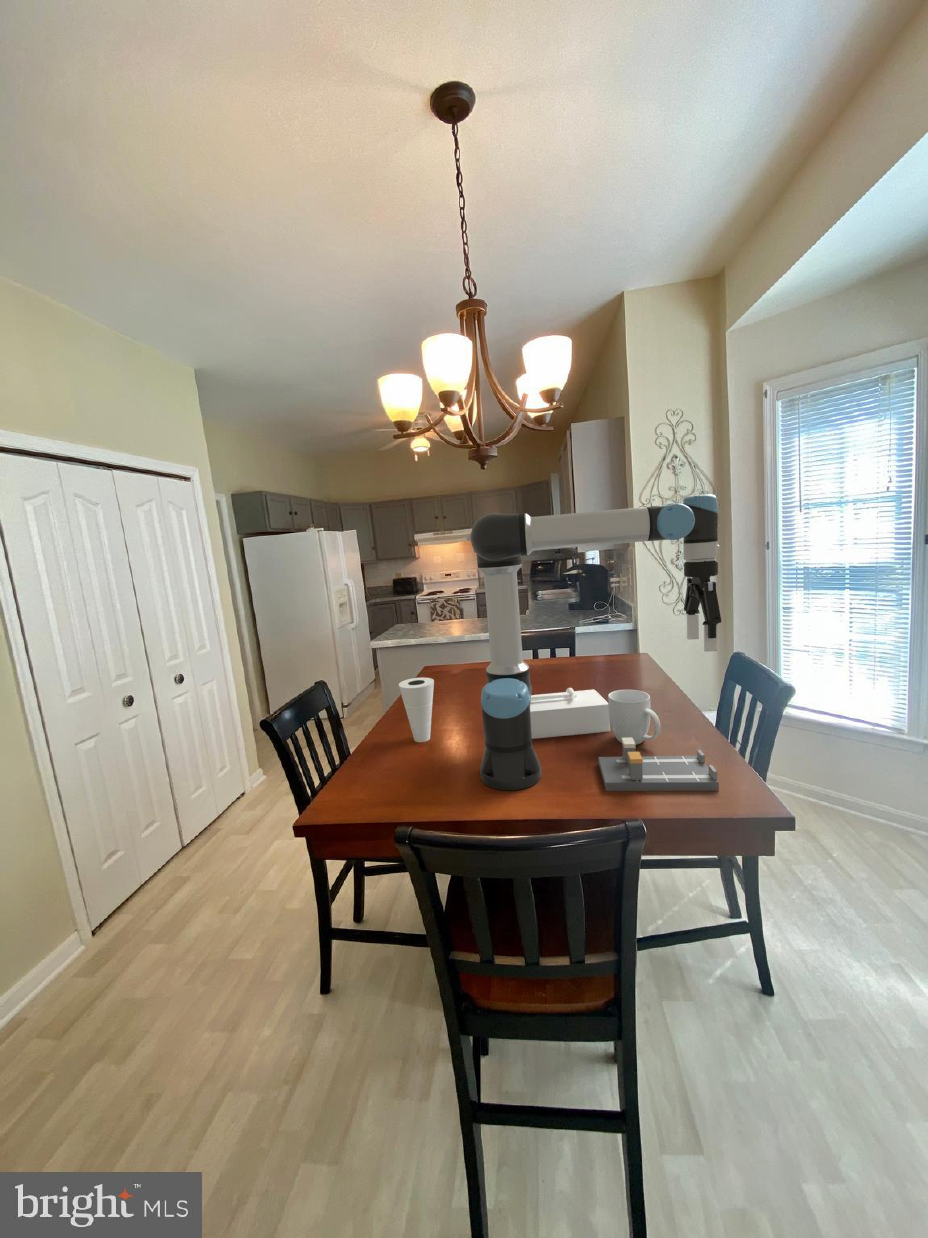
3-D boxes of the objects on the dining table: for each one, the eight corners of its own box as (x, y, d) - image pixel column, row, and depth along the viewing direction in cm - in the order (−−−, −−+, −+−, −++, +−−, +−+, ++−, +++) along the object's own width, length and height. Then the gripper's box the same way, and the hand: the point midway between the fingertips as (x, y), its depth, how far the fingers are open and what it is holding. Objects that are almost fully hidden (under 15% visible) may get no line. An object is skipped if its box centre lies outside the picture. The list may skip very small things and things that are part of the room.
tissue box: (610, 732, 141) (609, 696, 140) (526, 740, 141) (523, 704, 139) (595, 715, 156) (594, 682, 154) (519, 722, 155) (516, 689, 153)
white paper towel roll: (399, 745, 144) (392, 688, 141) (413, 731, 154) (407, 677, 151) (432, 747, 141) (426, 688, 138) (444, 732, 151) (438, 677, 148)
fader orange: (631, 780, 108) (630, 759, 108) (628, 772, 112) (627, 751, 111) (643, 780, 108) (642, 759, 107) (639, 771, 112) (639, 751, 111)
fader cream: (624, 763, 116) (624, 744, 115) (622, 756, 120) (621, 737, 119) (636, 763, 116) (635, 744, 115) (633, 756, 119) (632, 737, 119)
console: (605, 790, 109) (605, 774, 108) (598, 764, 122) (598, 749, 121) (718, 790, 105) (718, 773, 105) (699, 763, 118) (699, 748, 117)
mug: (672, 744, 129) (671, 698, 127) (647, 757, 123) (645, 708, 121) (626, 729, 142) (625, 686, 140) (601, 740, 136) (599, 696, 134)
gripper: (737, 561, 104) (737, 656, 108) (700, 556, 129) (701, 634, 132) (700, 564, 106) (701, 657, 109) (670, 558, 130) (672, 635, 133)
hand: (701, 644), depth 121 cm, fingers open, 13 cm apart
